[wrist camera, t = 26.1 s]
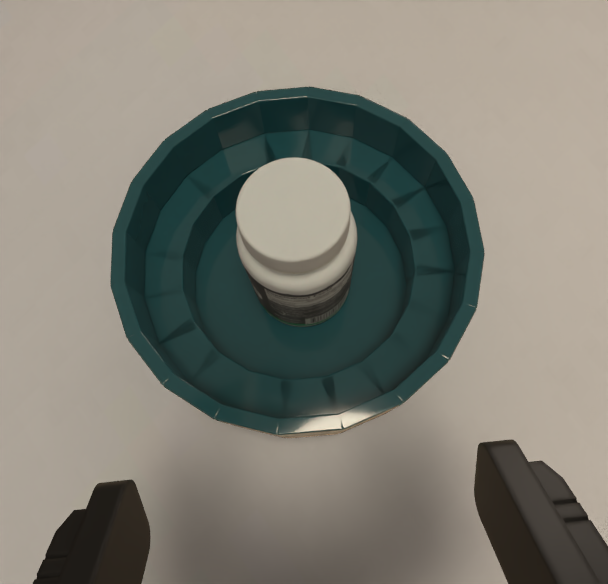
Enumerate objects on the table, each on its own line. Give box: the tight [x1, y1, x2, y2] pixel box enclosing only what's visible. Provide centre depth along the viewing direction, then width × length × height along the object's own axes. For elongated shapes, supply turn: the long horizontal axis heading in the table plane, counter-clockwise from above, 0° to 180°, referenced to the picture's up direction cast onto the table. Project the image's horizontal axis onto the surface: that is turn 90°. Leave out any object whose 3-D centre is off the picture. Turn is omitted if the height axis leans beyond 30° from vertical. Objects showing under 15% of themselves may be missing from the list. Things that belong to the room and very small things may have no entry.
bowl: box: [111, 87, 484, 438], centre depth 23 cm, size 15×15×6 cm
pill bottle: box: [236, 157, 357, 327], centre depth 21 cm, size 5×5×8 cm
